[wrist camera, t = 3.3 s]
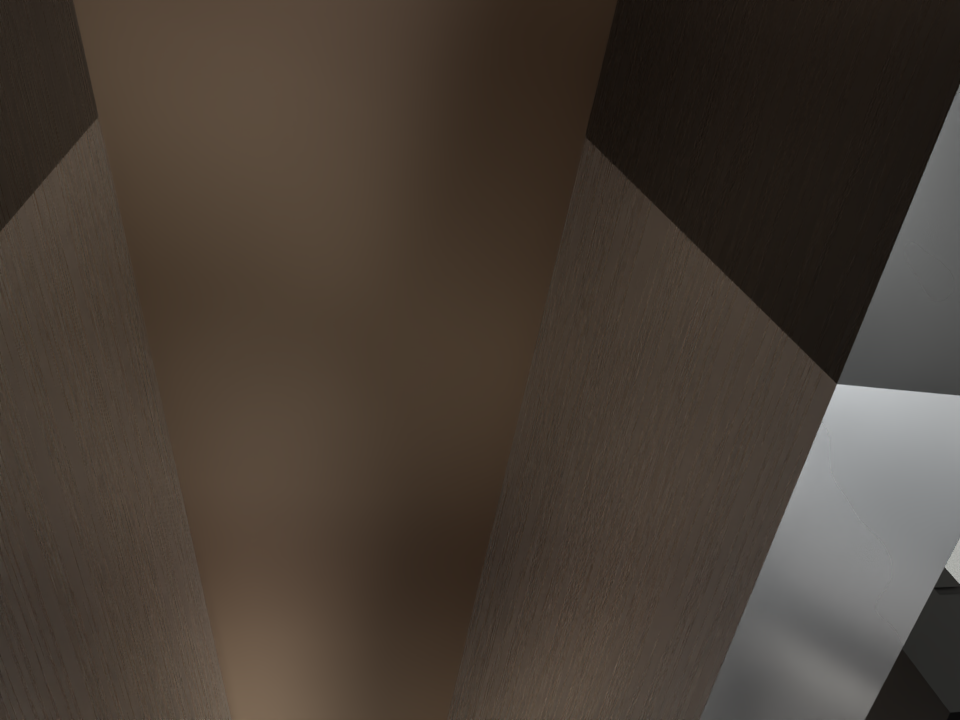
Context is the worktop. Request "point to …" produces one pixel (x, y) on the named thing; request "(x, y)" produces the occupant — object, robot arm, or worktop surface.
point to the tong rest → (342, 307)
